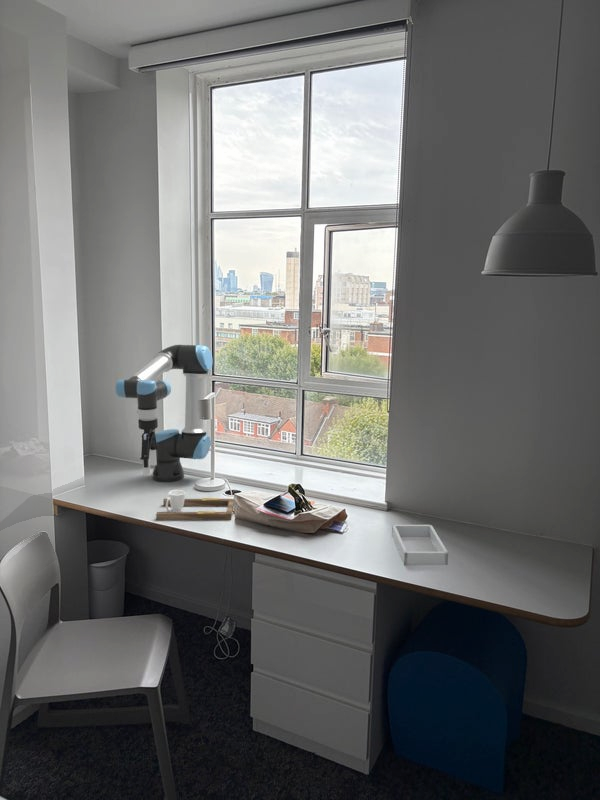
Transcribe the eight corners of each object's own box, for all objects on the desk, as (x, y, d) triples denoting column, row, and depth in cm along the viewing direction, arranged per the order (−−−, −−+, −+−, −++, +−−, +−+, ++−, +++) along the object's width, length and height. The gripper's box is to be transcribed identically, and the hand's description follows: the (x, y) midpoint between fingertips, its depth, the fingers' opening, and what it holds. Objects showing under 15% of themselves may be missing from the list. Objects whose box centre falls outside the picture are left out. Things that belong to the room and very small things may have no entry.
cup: (189, 509, 257) (188, 491, 256) (173, 517, 249) (172, 498, 247) (176, 506, 261) (176, 488, 259) (160, 514, 252) (159, 495, 251)
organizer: (391, 535, 233) (392, 524, 232) (430, 535, 233) (431, 524, 232) (404, 565, 209) (404, 553, 209) (447, 564, 210) (448, 552, 209)
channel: (164, 504, 263) (164, 498, 263) (234, 504, 264) (234, 498, 263) (156, 519, 246) (156, 513, 246) (231, 519, 247) (230, 513, 247)
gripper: (144, 411, 258) (147, 460, 263) (131, 425, 235) (134, 479, 239) (162, 411, 259) (164, 460, 263) (151, 425, 235) (153, 479, 239)
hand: (150, 469), depth 251 cm, fingers open, 12 cm apart
